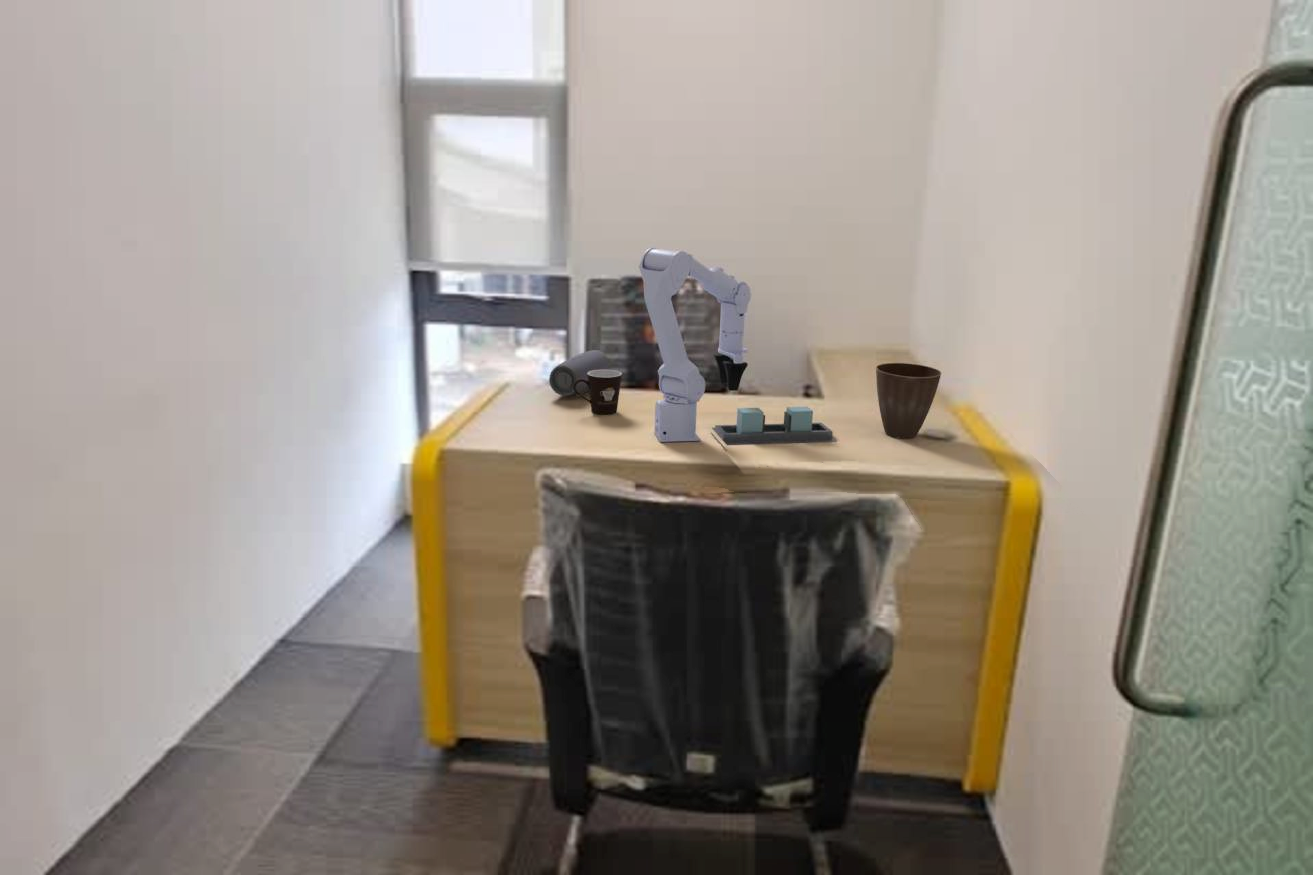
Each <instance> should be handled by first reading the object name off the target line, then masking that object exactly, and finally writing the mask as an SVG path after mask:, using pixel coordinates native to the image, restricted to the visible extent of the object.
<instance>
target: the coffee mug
mask: <svg viewBox="0 0 1313 875" xmlns="http://www.w3.org/2000/svg"><path fill="white" fill-rule="evenodd" d="M622 373H623V372H621V371H619V370H614V369H609V370H593V371H589V372H588V373H587V374H588V381H586V380H584V379H580V380H577V381H576V382H575V383H574V386H573V389H574V391H575V392H576V393H577V394H578V395H577V396H578V397H580V398H582V399H583V400H585V401H587V402H589V404H590V408H591V411H590V412H591V413H592V414H594V415H597V416H613V415H615V414H617V413H618V405H619V404H618V403H619V399H620V398H619V397H620V389H621V383H622V375H623V374H622ZM579 382H585V383H586V384H587V386H588V387H589V390H588V392H589V398H587V397H586V396H584V395H582V394H579V393H578V392H577V391H576V384H577V383H579Z"/></svg>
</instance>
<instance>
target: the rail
mask: <svg viewBox="0 0 1313 875" xmlns="http://www.w3.org/2000/svg"><path fill="white" fill-rule="evenodd" d="M783 426H784V423H765V428H764V431H762V432H747V433H736V428H737V424H718V425H717V424H716V425H715V426H714V427H711V429H712V431H714V432H715V433H716V435H717V436H718V437H719V438H720V440H722V442H723V443H724V444H725V445H726V446H742V445H743V446H745V445H747V446H751V445H753V446H755V445H783V444H815V443H816V444H817V443H819V444H820V443H822V444H823V443H838V440H836V439H834V437H833V435H834V434H833V433H834V432H833V430H832V429H830V428H829V427H827V425H825V424H823V423H822V422H812V431H785V427H783ZM710 435H712V437H713V438H714V439H715V440H716V441H717V442H718V443H719V445H720V444H721V445H720V446H721V447H722V448H723V450H725V452H726V451H728V450H727V449H726V447H724V446H723V444H722V443H721V442H720V441H719V440H718V438H717V437H716V436H715V435H714V434H713V433H712V432H711V433H710Z"/></svg>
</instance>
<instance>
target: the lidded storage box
mask: <svg viewBox="0 0 1313 875" xmlns="http://www.w3.org/2000/svg"><path fill="white" fill-rule="evenodd" d="M736 413H737V415H736V425H737V428H736V433H747V432H762V431H764V428H765V424H766V415H765V414H764V411H763V410H762V409H760V407H737V412H736Z"/></svg>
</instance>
